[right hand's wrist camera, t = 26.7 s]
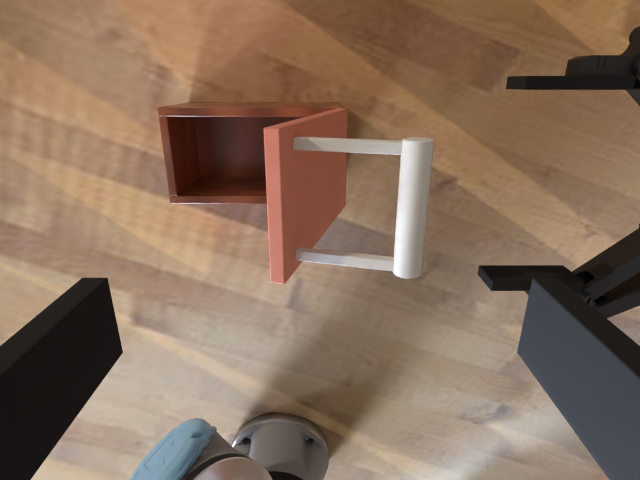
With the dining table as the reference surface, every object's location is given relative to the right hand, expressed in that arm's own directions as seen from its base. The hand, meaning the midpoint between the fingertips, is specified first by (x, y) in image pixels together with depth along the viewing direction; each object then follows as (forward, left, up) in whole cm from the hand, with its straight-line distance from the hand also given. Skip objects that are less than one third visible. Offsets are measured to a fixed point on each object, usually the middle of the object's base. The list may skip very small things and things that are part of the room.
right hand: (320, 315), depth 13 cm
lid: (0, +1, -20) cm, 20 cm away
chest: (-4, +5, -38) cm, 39 cm away
